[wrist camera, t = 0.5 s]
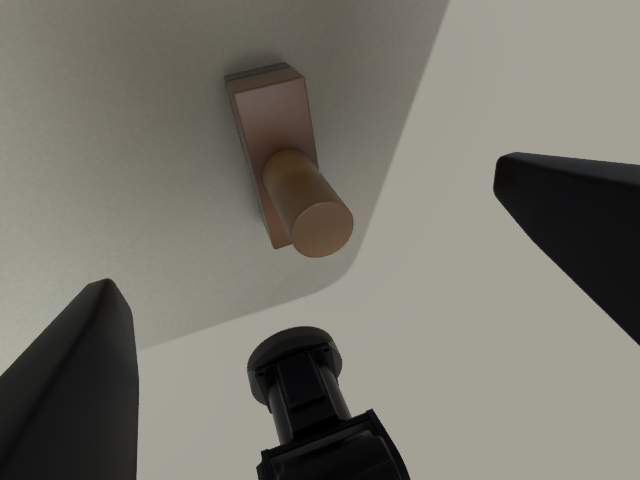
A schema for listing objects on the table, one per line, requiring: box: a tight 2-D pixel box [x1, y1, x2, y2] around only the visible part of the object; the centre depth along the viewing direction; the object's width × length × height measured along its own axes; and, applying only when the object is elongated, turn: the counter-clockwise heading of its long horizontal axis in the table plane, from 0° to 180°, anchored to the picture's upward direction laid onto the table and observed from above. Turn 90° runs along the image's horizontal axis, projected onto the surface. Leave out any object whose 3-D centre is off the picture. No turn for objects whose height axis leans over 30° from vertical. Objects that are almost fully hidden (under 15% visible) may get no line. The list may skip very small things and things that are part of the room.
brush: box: [224, 63, 353, 258], centre depth 17 cm, size 8×3×8 cm, turn 8°
